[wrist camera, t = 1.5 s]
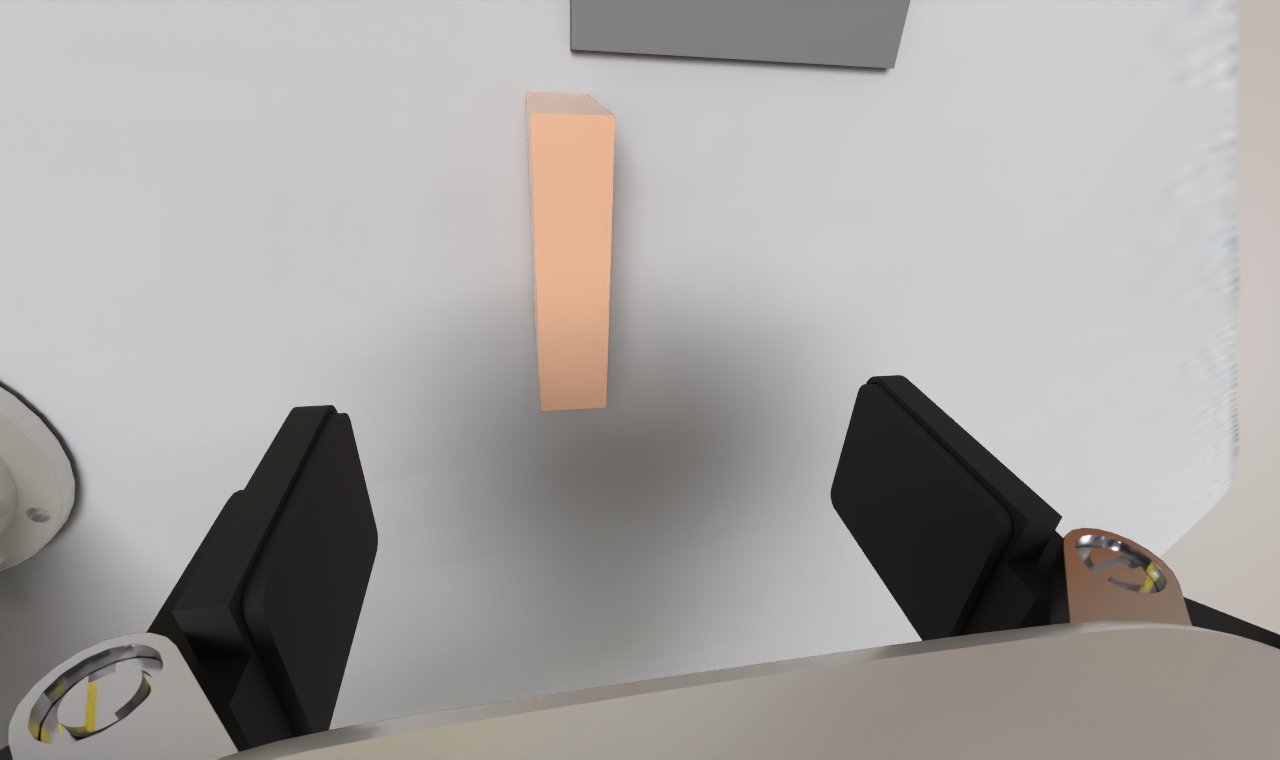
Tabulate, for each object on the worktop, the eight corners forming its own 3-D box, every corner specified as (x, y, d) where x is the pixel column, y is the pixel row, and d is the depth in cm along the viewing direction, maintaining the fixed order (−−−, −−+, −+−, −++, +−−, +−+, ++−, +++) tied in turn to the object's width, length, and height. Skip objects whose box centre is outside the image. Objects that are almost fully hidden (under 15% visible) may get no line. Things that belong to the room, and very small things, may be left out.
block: (586, 327, 28) (606, 407, 22) (534, 329, 27) (541, 411, 21) (588, 94, 23) (615, 115, 17) (525, 91, 22) (530, 112, 16)
